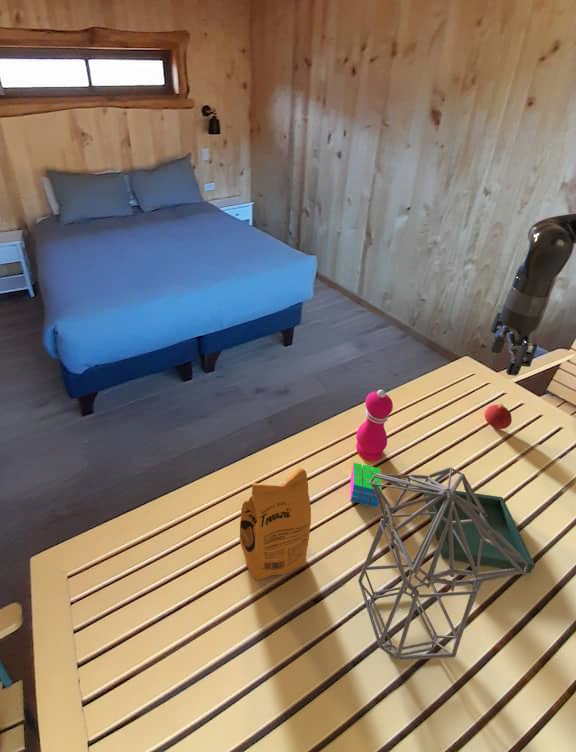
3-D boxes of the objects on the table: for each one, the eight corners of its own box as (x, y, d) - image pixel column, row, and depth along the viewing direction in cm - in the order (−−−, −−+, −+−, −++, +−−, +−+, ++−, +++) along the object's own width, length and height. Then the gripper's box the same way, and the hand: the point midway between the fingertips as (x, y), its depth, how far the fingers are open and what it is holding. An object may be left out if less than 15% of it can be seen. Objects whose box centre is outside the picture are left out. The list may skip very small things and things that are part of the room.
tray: (498, 505, 88) (502, 497, 87) (530, 573, 76) (535, 565, 75) (423, 494, 91) (425, 486, 89) (442, 558, 79) (445, 550, 78)
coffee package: (235, 534, 84) (235, 463, 74) (290, 519, 86) (297, 449, 76) (250, 588, 75) (252, 515, 65) (311, 569, 78) (322, 497, 68)
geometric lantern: (342, 576, 76) (370, 450, 61) (421, 569, 77) (469, 442, 61) (377, 690, 62) (425, 563, 47) (474, 679, 63) (554, 552, 47)
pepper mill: (353, 458, 99) (365, 398, 90) (354, 436, 105) (365, 377, 96) (384, 466, 97) (399, 405, 88) (383, 442, 103) (397, 383, 94)
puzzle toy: (377, 508, 88) (381, 491, 86) (350, 501, 90) (353, 484, 87) (376, 484, 93) (380, 468, 90) (350, 478, 95) (353, 462, 92)
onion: (506, 423, 108) (515, 401, 104) (507, 439, 104) (517, 416, 100) (481, 415, 111) (489, 393, 107) (481, 430, 106) (489, 408, 103)
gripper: (561, 325, 84) (535, 384, 91) (527, 292, 96) (506, 346, 104) (521, 322, 85) (499, 381, 92) (492, 290, 98) (474, 343, 105)
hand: (503, 362), depth 98 cm, fingers open, 8 cm apart
